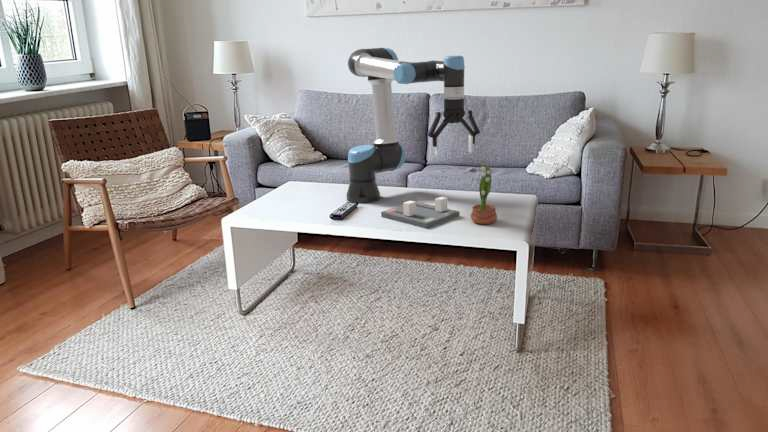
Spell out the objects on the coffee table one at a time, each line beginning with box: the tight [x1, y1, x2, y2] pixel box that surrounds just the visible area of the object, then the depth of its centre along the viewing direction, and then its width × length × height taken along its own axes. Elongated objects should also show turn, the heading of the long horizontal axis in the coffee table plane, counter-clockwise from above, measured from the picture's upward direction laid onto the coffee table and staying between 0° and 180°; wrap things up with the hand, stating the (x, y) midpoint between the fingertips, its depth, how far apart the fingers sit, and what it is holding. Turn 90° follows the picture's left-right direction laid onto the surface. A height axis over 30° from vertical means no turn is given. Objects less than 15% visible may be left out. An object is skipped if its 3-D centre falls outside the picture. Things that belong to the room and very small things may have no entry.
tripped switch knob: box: [402, 200, 417, 216], centre depth 227 cm, size 3×4×5 cm
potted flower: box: [470, 158, 498, 225], centre depth 219 cm, size 12×10×25 cm
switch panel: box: [380, 201, 460, 229], centre depth 232 cm, size 24×20×2 cm
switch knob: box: [434, 196, 448, 212], centre depth 231 cm, size 3×4×5 cm
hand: (453, 153), depth 225 cm, fingers open, 13 cm apart
